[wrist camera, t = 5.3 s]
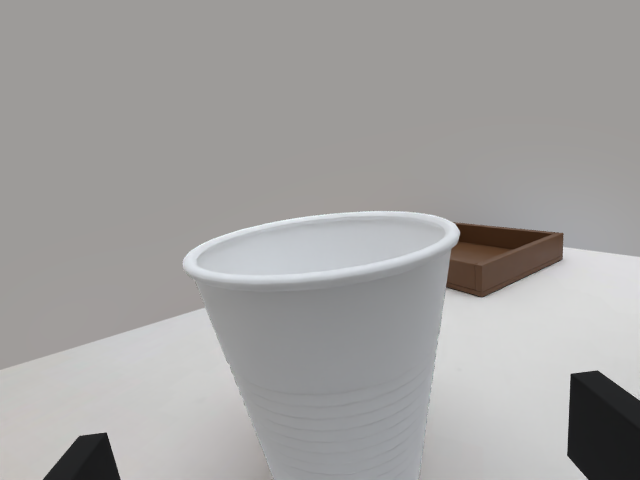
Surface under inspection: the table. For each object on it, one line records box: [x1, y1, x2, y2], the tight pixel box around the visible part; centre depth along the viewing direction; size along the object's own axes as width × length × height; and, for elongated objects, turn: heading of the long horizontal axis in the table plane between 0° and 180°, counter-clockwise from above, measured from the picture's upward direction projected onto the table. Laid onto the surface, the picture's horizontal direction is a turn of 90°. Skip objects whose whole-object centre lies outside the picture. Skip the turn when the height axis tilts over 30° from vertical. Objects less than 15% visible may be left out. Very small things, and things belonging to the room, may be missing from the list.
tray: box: [446, 222, 563, 297], centre depth 41 cm, size 14×14×3 cm
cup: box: [183, 211, 460, 480], centre depth 14 cm, size 10×10×11 cm
